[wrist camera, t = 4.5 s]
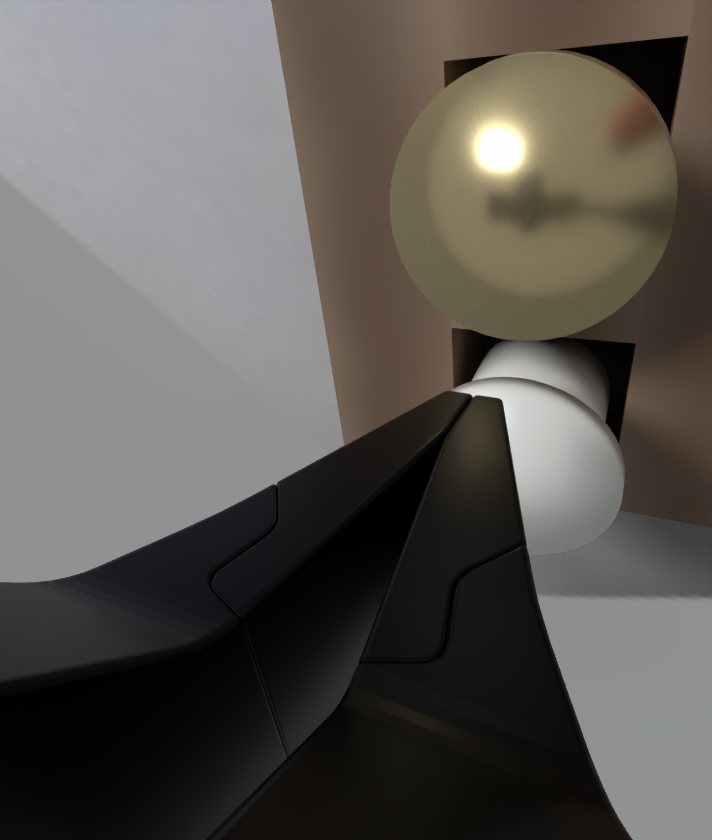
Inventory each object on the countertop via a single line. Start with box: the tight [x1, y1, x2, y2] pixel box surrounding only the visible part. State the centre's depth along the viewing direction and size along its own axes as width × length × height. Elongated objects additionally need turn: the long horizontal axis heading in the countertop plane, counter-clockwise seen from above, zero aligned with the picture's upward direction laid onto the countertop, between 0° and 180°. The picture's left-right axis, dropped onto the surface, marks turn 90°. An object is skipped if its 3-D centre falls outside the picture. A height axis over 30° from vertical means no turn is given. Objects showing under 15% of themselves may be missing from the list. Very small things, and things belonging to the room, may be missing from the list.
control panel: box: [271, 0, 712, 527], centre depth 14 cm, size 12×18×4 cm, turn 7°
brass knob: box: [390, 49, 678, 341], centre depth 12 cm, size 5×5×4 cm
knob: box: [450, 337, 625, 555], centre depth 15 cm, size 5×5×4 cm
